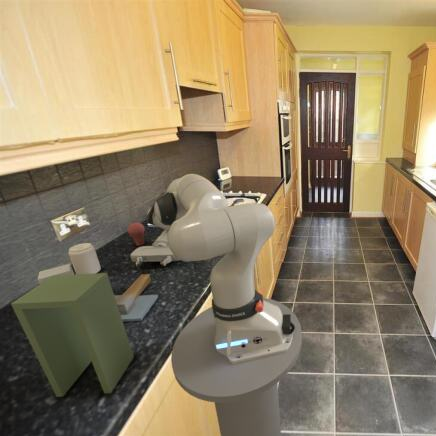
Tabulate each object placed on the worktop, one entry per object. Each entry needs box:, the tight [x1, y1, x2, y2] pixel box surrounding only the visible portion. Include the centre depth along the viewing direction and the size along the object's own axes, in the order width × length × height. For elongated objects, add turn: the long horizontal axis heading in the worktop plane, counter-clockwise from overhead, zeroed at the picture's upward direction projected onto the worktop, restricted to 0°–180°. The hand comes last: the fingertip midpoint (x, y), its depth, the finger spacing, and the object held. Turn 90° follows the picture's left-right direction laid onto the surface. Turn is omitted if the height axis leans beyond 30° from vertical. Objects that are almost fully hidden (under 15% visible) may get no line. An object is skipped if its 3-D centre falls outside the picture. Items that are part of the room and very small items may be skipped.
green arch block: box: [10, 272, 135, 398], centre depth 61 cm, size 12×10×26 cm
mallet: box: [114, 273, 152, 315], centre depth 93 cm, size 6×19×4 cm, turn 4°
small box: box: [37, 263, 75, 285], centre depth 90 cm, size 8×6×13 cm
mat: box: [121, 294, 159, 323], centre depth 89 cm, size 16×12×1 cm
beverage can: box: [68, 242, 102, 274], centre depth 109 cm, size 8×8×12 cm
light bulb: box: [127, 222, 146, 246], centre depth 132 cm, size 7×7×12 cm
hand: (150, 264), depth 107 cm, fingers open, 8 cm apart
